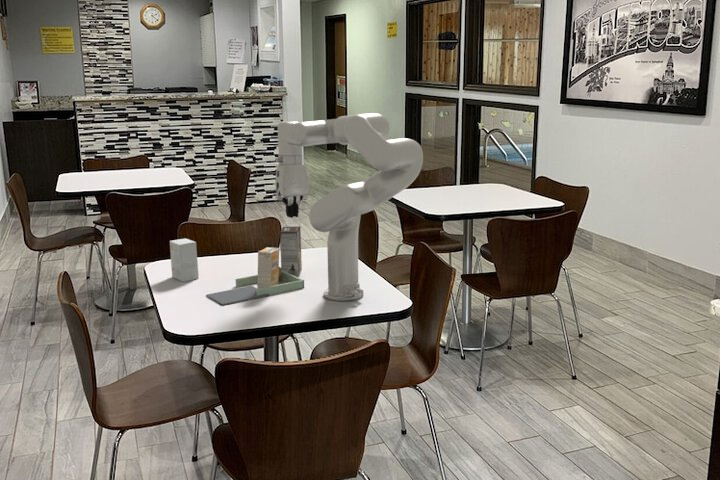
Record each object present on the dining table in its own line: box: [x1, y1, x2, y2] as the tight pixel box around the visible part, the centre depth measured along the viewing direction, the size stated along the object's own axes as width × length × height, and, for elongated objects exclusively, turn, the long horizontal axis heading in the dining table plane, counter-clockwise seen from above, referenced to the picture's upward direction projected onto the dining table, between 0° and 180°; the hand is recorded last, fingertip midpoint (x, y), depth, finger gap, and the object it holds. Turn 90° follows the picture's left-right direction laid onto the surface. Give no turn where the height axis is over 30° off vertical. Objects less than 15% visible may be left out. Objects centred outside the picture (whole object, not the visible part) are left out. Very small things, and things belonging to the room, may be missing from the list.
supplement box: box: [256, 247, 280, 289], centre depth 231 cm, size 8×5×13 cm, turn 168°
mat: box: [205, 285, 270, 306], centre depth 226 cm, size 12×16×1 cm
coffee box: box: [279, 225, 303, 278], centre depth 249 cm, size 9×6×16 cm
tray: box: [235, 271, 305, 296], centre depth 235 cm, size 15×17×2 cm
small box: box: [169, 237, 199, 283], centre depth 246 cm, size 8×6×13 cm
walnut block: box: [278, 266, 283, 284], centre depth 241 cm, size 4×4×5 cm
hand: (292, 216), depth 233 cm, fingers closed
